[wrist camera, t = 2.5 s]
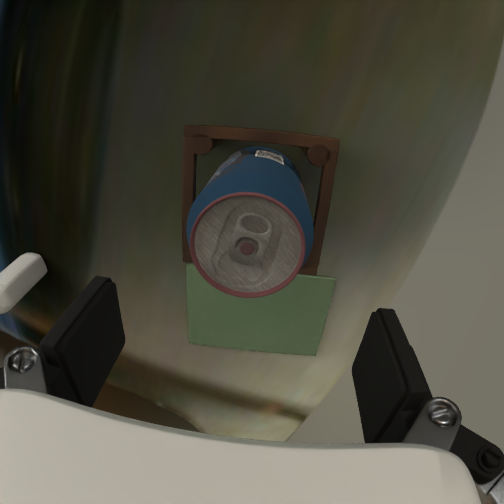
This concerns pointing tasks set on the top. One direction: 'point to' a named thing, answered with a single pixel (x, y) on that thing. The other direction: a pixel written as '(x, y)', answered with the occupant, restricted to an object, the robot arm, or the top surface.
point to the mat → (259, 316)
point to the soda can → (251, 224)
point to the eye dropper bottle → (20, 279)
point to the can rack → (315, 147)
